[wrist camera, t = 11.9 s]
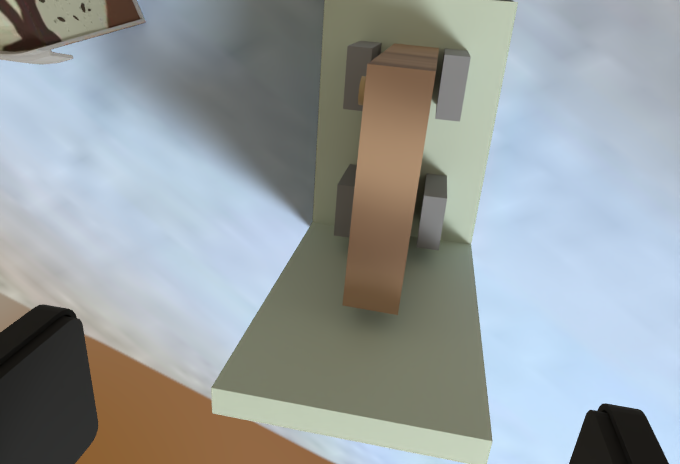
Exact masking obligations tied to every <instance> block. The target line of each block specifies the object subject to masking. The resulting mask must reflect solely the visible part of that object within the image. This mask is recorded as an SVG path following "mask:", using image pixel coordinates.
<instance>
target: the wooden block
mask: <svg viewBox="0 0 680 464" xmlns="http://www.w3.org/2000/svg"><path fill="white" fill-rule="evenodd" d="M438 53H439V48H434V47H424V46H415V45H406V44H396V43H394V44H393V45H392V46H390V47H389V48H388V49H386V50H385V51H384V52H382V53H381V54H380V55H378V56H377V57H376V58H374V59H373V60H372V61H370V62H369V63H368V64H367V72H366V76H362V77H361V81H360V86H359V94H358V104H359V105H363V111H362V120H361V130H360V140H359V149H358V159H357V169H356V178H355V188H354V198H353V207H352V217H351V227H350V236H349V246H348V256H347V265H346V275H345V285H344V294H343V304H342V305H343V306H348V307H354V308H360V309H365V310H371V311H377V312H383V313H388V314H394V315H398V310H399V304H400V298H401V291H402V285H403V279H404V272H405V266H406V259H407V253H408V247H409V240H410V234H411V228H412V221H413V215H414V208H415V202H416V196H417V189H418V183H419V177H420V170H421V164H422V157H423V151H424V145H425V138H426V132H427V126H428V119H429V113H430V106H431V100H432V94H433V87H434V81H435V74H436V68H437V60H438Z"/></svg>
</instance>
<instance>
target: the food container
mask: <svg viewBox="0 0 680 464" xmlns="http://www.w3.org/2000/svg"><path fill="white" fill-rule="evenodd" d="M145 22H146V21H145V19H144V17H143V14H142V12H141V9H140V7H139V5H138V2H137V0H0V59H1V60H8V61H15V62H22V63H32V64H52V63H60V62H63V61H67V60H70V59H73V56H72V55H67V54H61V53H55V52H52V51H51V49H54V48H58V47H61V46H65V45H68V44H72V43H75V42H79V41H82V40H86V39H89V38H93V37H97V36H100V35H104V34H107V33H111V32H114V31H118V30H121V29H125V28H128V27H132V26H135V25H139V24H142V23H145Z"/></svg>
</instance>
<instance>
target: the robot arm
mask: <svg viewBox="0 0 680 464" xmlns="http://www.w3.org/2000/svg"><path fill="white" fill-rule="evenodd" d="M97 430H98V419H97V412H96V406H95V400H94V394H93V387H92V381H91V375H90V369H89V363H88V356H87V350H86V344H85V337H84V331H83V325H82V322H81V321H80V319H77V318H76V314H75V313H74V312H73V311H72V310H70V309H66V308H60V307H55V306H49V305H39V306H37V307H35V308H33V309H32V310H31V311H29V312H28V313H26V314H25V315H24V316H22V317H21V318H20V319H18V320H17V321H15V322H14V323H13V324H11V325H10V326H9V327H7V328H6V329H5V330H3V331H2V332H0V464H75V463H76V462H77V460H78V459H79V458H80V456H82V454H83V453H84V452H85V451H86V449H87V448H88V447H89V446H90V444H91V443H92V441H93V440H94V438H95V436H96V433H97ZM569 464H669V463H668V461H667V459H666V457H665V455H664V453H663V451H662V449H661V447H660V445H659V442H658V440H657V438H656V436H655V434H654V432H653V430H652V428H651V426H650V424H649V422H648V420H647V418H646V416H645V414H644V413H643V412H642V411H641V410H639V409H634V408H628V407H622V406H617V405H611V404H602V405H601V406H600V407H599V409H598V411H594V410H589V411H588V412H587V414H586V416H585V419H584V422H583V425H582V428H581V431H580V434H579V437H578V439H577V442H576V445H575V448H574V451H573V454H572V457H571V460H570V463H569Z"/></svg>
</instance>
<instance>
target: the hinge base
mask: <svg viewBox="0 0 680 464" xmlns="http://www.w3.org/2000/svg"><path fill="white" fill-rule="evenodd" d="M517 4H518V2H509V1H496V0H324V18H323V37H322V55H321V74H320V92H319V111H318V130H317V148H316V167H315V186H314V204H313V222H312V224H311V226H310V227H309V229H308V231H307V232H306V234H305V235H304V237H303V239H302V240H301V242H300V244H299V245H298V247H297V249H296V250H295V252H294V253H293V255H292V257H291V258H290V260H289V262H288V263H287V265H286V267H285V268H284V270H283V271H282V273H281V275H280V276H279V278H278V280H277V281H276V283H275V284H274V286H273V288H272V289H271V291H270V293H269V294H268V296H267V298H266V299H265V301H264V302H263V304H262V306H261V307H260V309H259V311H258V312H257V314H256V316H255V317H254V319H253V320H252V322H251V324H250V325H249V327H248V329H247V330H246V332H245V334H244V335H243V337H242V338H241V340H240V342H239V343H238V345H237V347H236V348H235V350H234V352H233V353H232V355H231V356H230V358H229V360H228V361H227V363H226V365H225V366H224V368H223V370H222V371H221V373H220V374H219V376H218V378H217V379H216V381H215V383H214V384H213V386H212V388H211V392H212V413H214V414H219V415H224V416H229V417H234V418H240V419H245V420H250V421H255V422H260V423H265V424H270V425H275V426H280V427H285V428H290V429H295V430H300V431H305V432H311V433H316V434H321V435H326V436H331V437H336V438H341V439H346V440H351V441H356V442H361V443H366V444H371V445H376V446H382V447H387V448H392V449H397V450H402V451H407V452H412V453H417V454H422V455H427V456H432V457H437V458H442V459H447V460H453V461H458V462H463V463H468V464H487V460H488V456H489V453H490V449H491V445H492V433H491V424H490V415H489V405H488V396H487V387H486V378H485V369H484V360H483V350H482V341H481V332H480V323H479V314H478V305H477V295H476V286H475V277H474V268H473V259H472V250H471V242H472V236H473V231H474V226H475V221H476V216H477V211H478V205H479V200H480V195H481V190H482V185H483V180H484V174H485V169H486V164H487V159H488V154H489V149H490V144H491V138H492V133H493V128H494V123H495V118H496V113H497V107H498V102H499V97H500V92H501V87H502V82H503V77H504V71H505V66H506V61H507V56H508V51H509V46H510V40H511V35H512V30H513V25H514V20H515V15H516V9H517ZM394 43H396V44H406V45H415V46H424V47H434V48H439V53H438V60H437V68H436V74H435V81H434V87H433V94H432V100H431V106H430V113H429V119H428V126H427V132H426V138H425V145H424V151H423V157H422V164H421V170H420V177H419V183H418V189H417V196H416V202H415V208H414V215H413V221H412V228H411V234H410V240H409V247H408V253H407V259H406V266H405V272H404V279H403V285H402V291H401V298H400V304H399V310H398V315H394V314H388V313H383V312H377V311H371V310H365V309H360V308H354V307H348V306H343V305H342V304H343V294H344V285H345V275H346V265H347V256H348V246H349V236H350V227H351V217H352V207H353V198H354V188H355V178H356V169H357V159H358V149H359V140H360V130H361V120H362V111H363V105H359V104H358V94H359V86H360V81H361V77H362V76H366V72H367V64H368V63H369V62H370V61H372V60H373V59H374V58H376V57H377V56H378V55H380V54H381V53H382V52H384V51H385V50H386V49H388V48H389V47H390V46H392V45H393V44H394Z"/></svg>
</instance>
